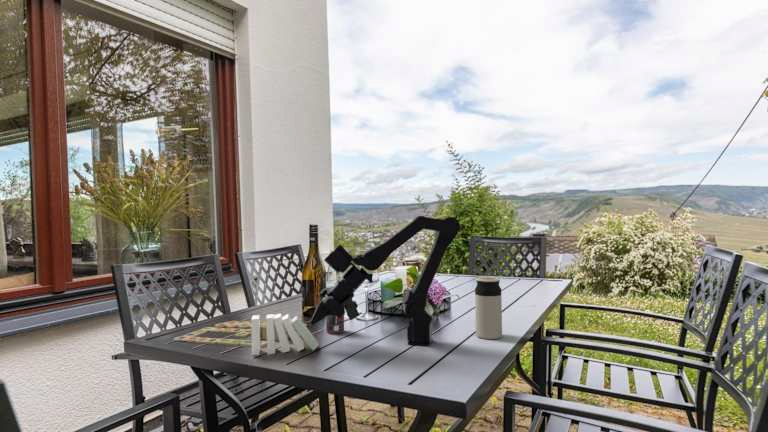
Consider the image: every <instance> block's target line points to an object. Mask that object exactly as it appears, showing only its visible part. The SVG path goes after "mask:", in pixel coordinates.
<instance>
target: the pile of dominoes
mask: <svg viewBox="0 0 768 432" xmlns="http://www.w3.org/2000/svg"><path fill="white" fill-rule="evenodd" d="M303 324H304V325H305V326H306V327H307V328H308V326H307V325H308V324H307V323H303ZM274 327H275V341H279V337H278V333H277V330H276V326H275V323H274ZM285 330H286V328H285ZM207 333H223V334H234V338H235V339H233V338H223V339H222V338H218V337H217V338H214V337H212V338H211V337H201V336H202V335H205V334H207ZM286 334H287V337H288V339H291V338H290V336H289V334H288V332H287V330H286ZM249 336H251V321H246V320H243V321H238V320H231V321H225V322H220V323H217V324H214V326H213V327H212V326H206V327H203V328H201V329H198V330H194V331H192V332H189V333H187V334H183V335H180V336H177V337H174V338H173V340H172V341H173V342H178V341H187V342H186V343H195V344H203V343H204V344H205V345H221V346H233V347H238V346H240V347H246V348H252V339H251V340H250V339H248V340H247V339H246V340H245V338H247V337H249ZM236 338H239V339H236ZM240 338H241V339H240ZM243 338H244V339H243ZM261 339H262V340H261ZM265 347H267V330H266V320H261V321H260V349H261V348H265Z"/></svg>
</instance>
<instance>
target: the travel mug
mask: <svg viewBox="0 0 768 432" xmlns="http://www.w3.org/2000/svg"><path fill="white" fill-rule="evenodd" d="M475 281H476V286H475V288H474V295H475V297H474V298H475V299H474V301H475V302H474V304H475V306H474V307H475V309H474V310H475V312H474V313H475V336H476V337H478V338H479V339H484V340H498V339H500V338H502V337H503V323H502V322H503V319H502V317H503V313H502V312H503V311H502V310H503V309H502V308H503V306H502V305H503V304H502V302H503V299H502V288H501V286H500V281H501V278H499V277H493V276H481V277H479V276H478V277H476V278H475Z"/></svg>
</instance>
